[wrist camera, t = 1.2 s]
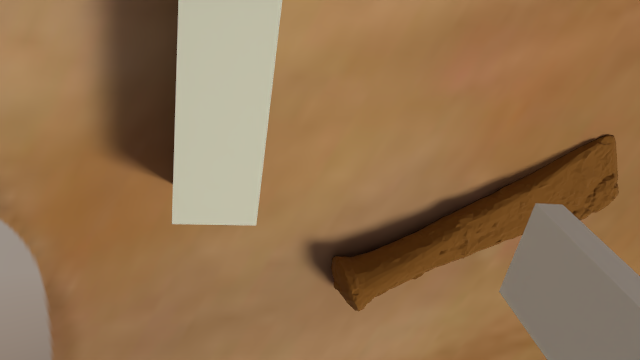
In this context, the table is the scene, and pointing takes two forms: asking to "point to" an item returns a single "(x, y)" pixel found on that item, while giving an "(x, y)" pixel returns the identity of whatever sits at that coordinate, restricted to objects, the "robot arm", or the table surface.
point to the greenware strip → (222, 108)
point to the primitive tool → (483, 222)
